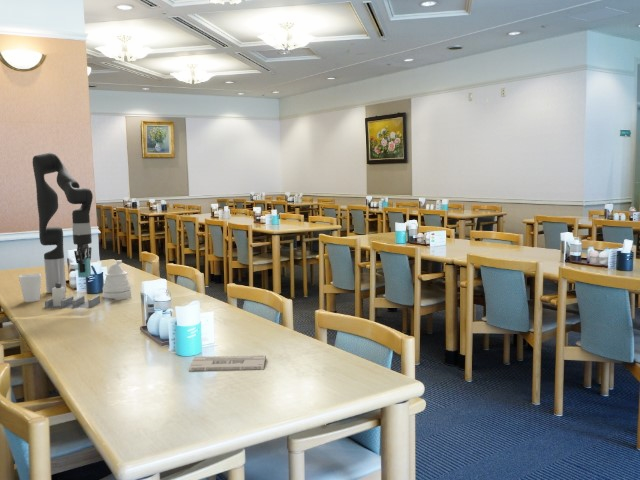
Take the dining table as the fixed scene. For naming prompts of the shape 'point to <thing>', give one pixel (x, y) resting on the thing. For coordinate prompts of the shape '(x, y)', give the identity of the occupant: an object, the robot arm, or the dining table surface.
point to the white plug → (58, 294)
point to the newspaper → (227, 363)
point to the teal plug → (87, 269)
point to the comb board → (74, 302)
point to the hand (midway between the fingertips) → (84, 271)
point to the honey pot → (116, 283)
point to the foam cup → (30, 286)
